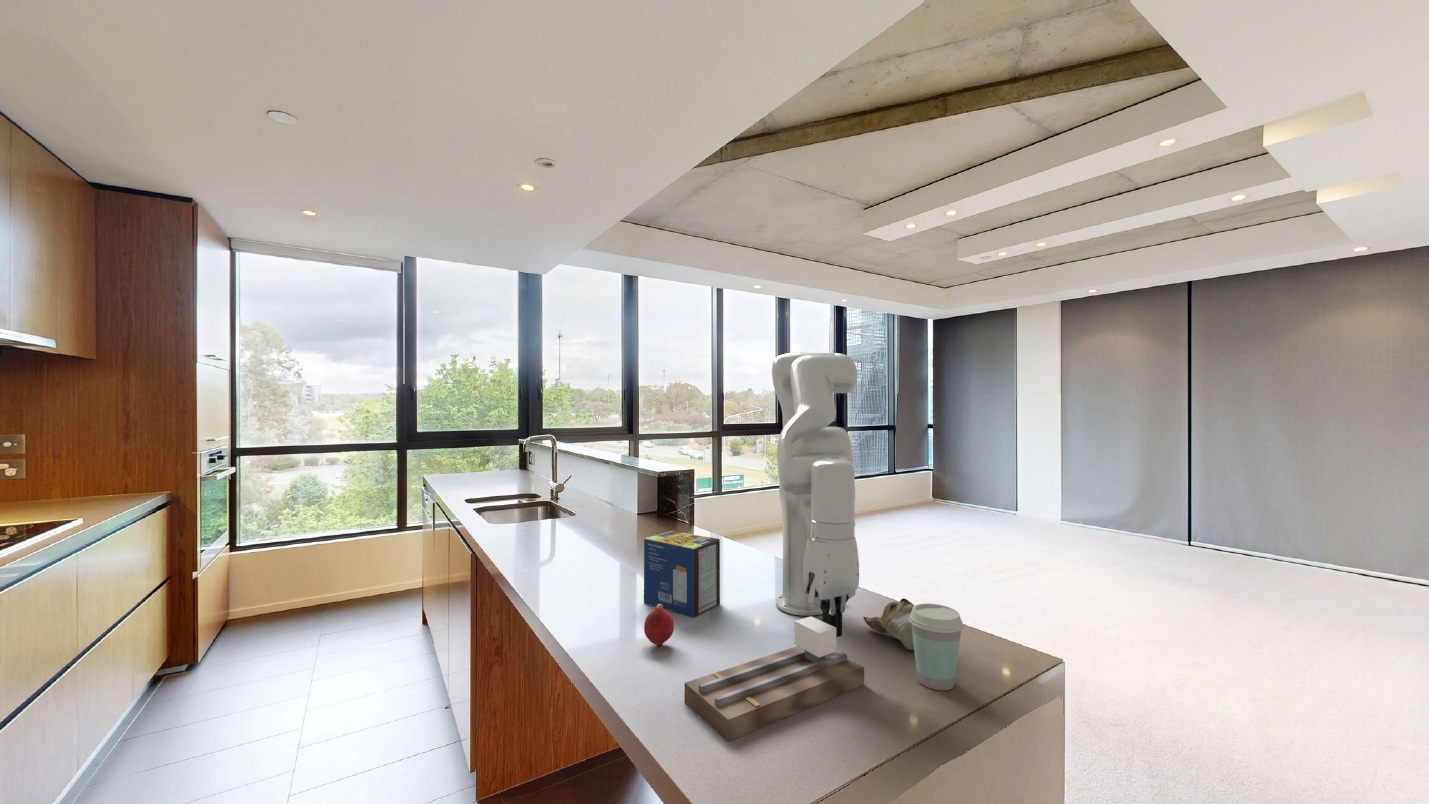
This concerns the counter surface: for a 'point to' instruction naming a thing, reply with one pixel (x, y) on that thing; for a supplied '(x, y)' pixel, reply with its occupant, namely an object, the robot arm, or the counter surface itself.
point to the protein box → (682, 572)
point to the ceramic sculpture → (895, 622)
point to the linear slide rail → (769, 689)
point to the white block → (815, 638)
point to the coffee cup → (936, 644)
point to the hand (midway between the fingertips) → (832, 634)
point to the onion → (658, 626)
